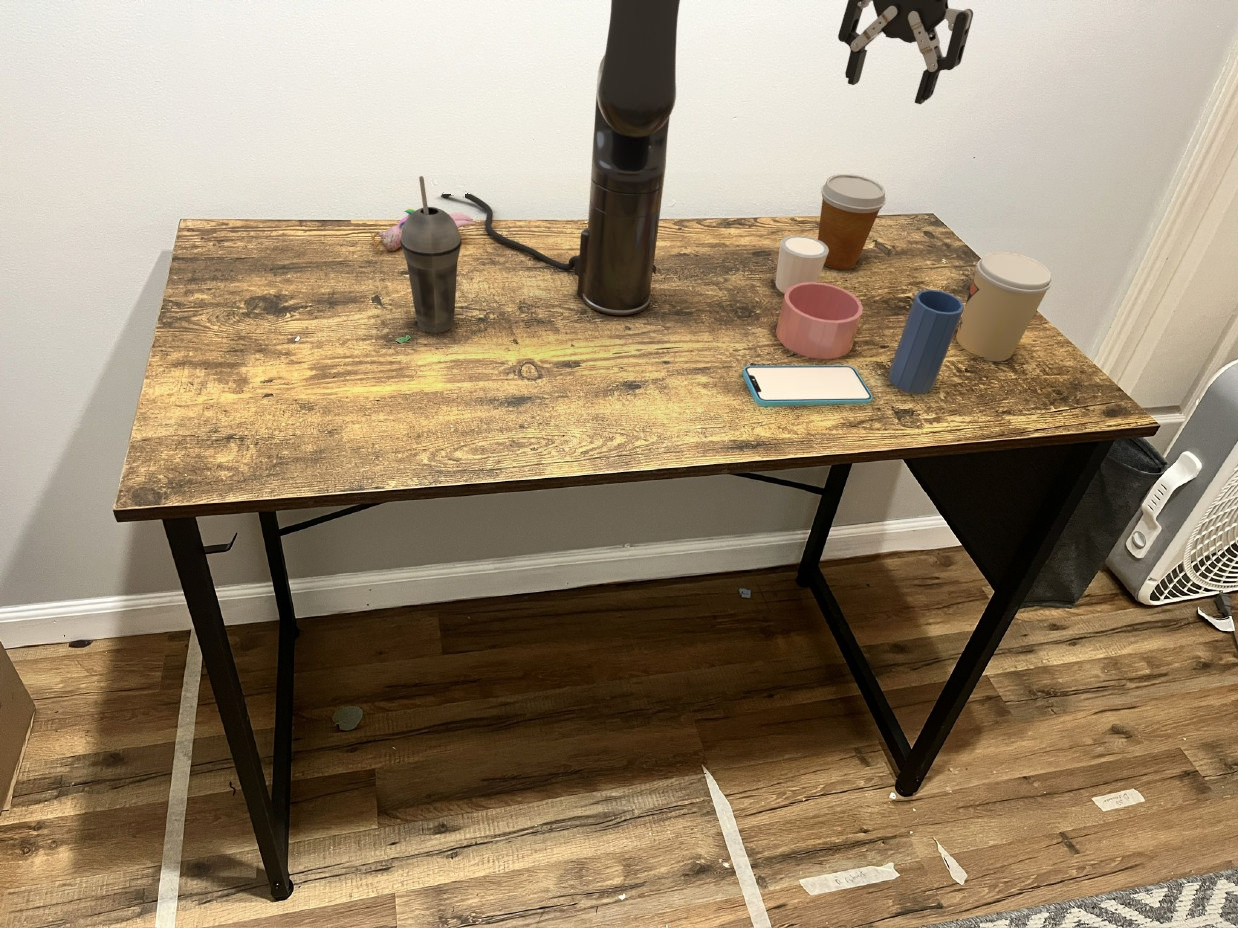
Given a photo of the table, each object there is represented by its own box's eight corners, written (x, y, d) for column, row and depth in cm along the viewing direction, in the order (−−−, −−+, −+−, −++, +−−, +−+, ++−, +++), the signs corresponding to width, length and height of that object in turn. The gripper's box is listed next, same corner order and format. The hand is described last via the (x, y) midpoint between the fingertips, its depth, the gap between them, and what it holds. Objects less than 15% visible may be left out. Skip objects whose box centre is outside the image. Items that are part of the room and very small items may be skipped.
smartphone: (875, 400, 108) (759, 401, 105) (872, 408, 109) (756, 409, 106) (853, 365, 114) (741, 365, 111) (850, 372, 115) (740, 373, 112)
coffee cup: (969, 320, 127) (1000, 243, 119) (1030, 349, 122) (1066, 271, 115) (936, 342, 122) (966, 263, 114) (998, 373, 117) (1034, 293, 109)
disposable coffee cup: (875, 259, 139) (897, 185, 131) (853, 282, 133) (875, 206, 125) (819, 240, 143) (837, 167, 135) (795, 261, 136) (813, 186, 129)
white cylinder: (816, 305, 127) (828, 260, 122) (769, 296, 127) (778, 252, 123) (818, 282, 132) (829, 239, 127) (772, 274, 133) (782, 231, 128)
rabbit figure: (381, 267, 127) (481, 241, 130) (370, 229, 123) (474, 203, 126) (373, 247, 131) (470, 222, 134) (362, 210, 127) (463, 185, 130)
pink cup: (762, 342, 118) (771, 303, 114) (795, 312, 125) (804, 274, 121) (832, 371, 114) (844, 331, 110) (862, 338, 121) (874, 300, 117)
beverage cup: (475, 319, 116) (471, 171, 103) (443, 345, 111) (436, 192, 98) (428, 303, 118) (419, 155, 105) (395, 328, 113) (381, 176, 100)
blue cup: (881, 385, 113) (909, 302, 105) (896, 366, 116) (924, 284, 109) (923, 402, 111) (955, 319, 103) (937, 382, 114) (969, 300, 106)
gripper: (854, -71, 96) (819, 84, 107) (983, -43, 91) (932, 117, 101) (879, -77, 101) (843, 71, 112) (1003, -52, 96) (953, 101, 106)
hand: (886, 93), depth 106 cm, fingers open, 8 cm apart
